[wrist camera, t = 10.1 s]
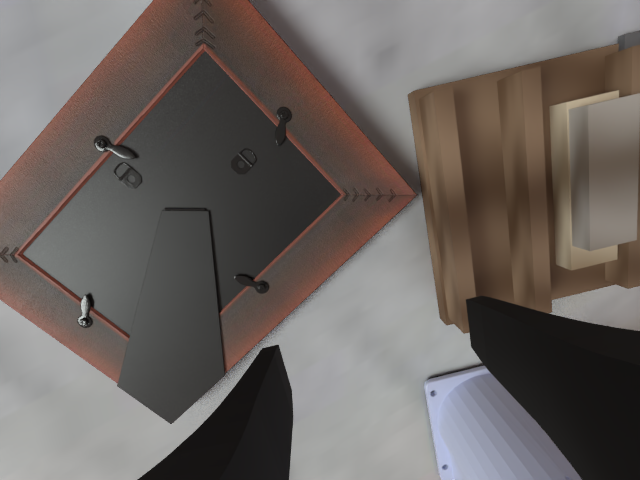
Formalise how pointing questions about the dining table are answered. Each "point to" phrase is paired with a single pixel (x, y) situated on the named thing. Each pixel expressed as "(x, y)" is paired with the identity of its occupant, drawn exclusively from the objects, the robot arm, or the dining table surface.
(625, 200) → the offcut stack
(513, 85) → the walnut rack
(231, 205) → the picture frame
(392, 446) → the dining table surface
